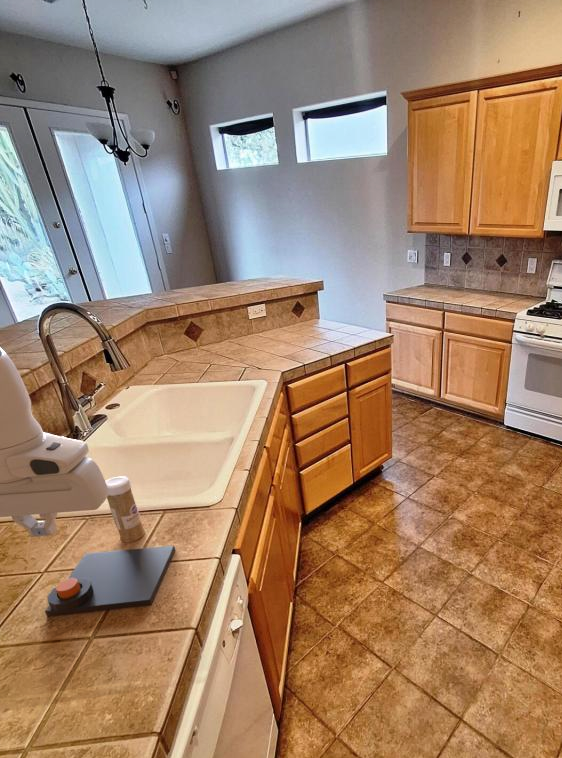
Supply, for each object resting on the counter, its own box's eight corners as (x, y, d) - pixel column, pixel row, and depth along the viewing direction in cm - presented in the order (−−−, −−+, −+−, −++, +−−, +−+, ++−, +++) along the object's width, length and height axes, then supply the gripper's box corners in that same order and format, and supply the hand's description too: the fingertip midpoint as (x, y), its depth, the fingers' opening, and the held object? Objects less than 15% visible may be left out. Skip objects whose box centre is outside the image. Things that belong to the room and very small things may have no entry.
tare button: (55, 600, 71) (51, 592, 70) (64, 586, 73) (61, 578, 72) (75, 598, 71) (72, 590, 70) (84, 584, 74) (81, 576, 73)
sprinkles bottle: (141, 541, 88) (124, 486, 82) (117, 544, 87) (97, 489, 81) (148, 527, 92) (131, 474, 86) (124, 530, 91) (106, 476, 85)
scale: (45, 619, 70) (39, 606, 69) (87, 559, 83) (82, 546, 82) (150, 607, 73) (146, 594, 71) (175, 550, 85) (172, 538, 84)
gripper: (-95, 472, 56) (-48, 554, 62) (77, 462, 59) (106, 540, 65) (-58, 450, 62) (-18, 527, 68) (98, 441, 65) (123, 515, 71)
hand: (44, 533), depth 67 cm, fingers closed
